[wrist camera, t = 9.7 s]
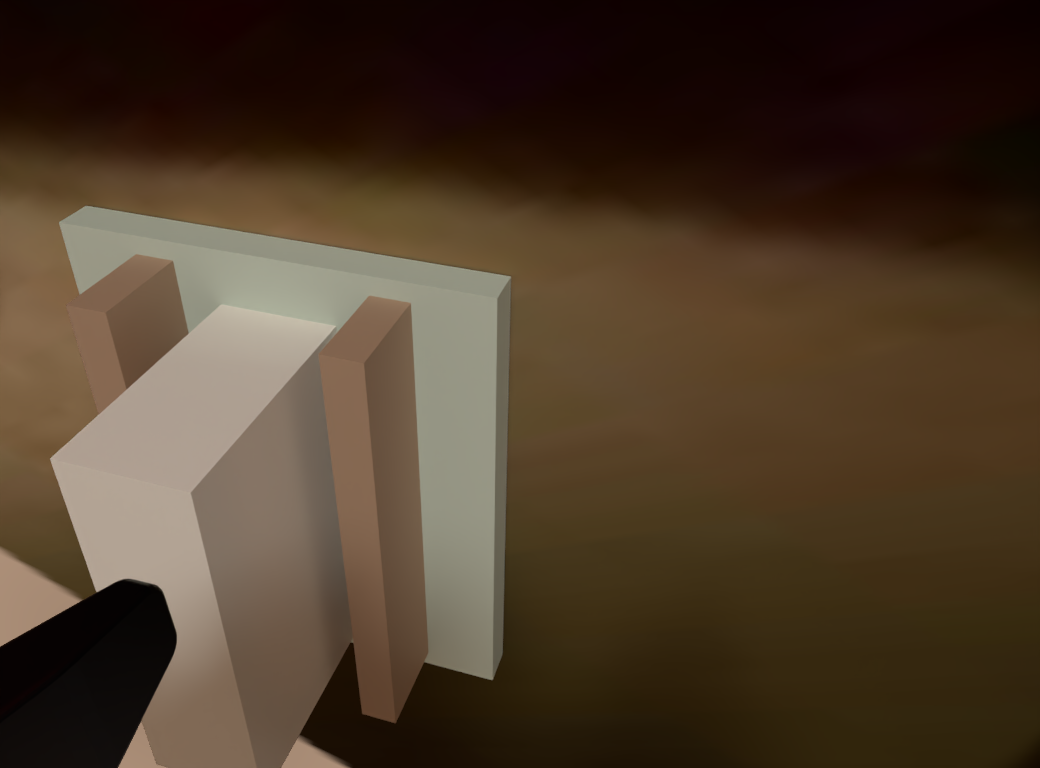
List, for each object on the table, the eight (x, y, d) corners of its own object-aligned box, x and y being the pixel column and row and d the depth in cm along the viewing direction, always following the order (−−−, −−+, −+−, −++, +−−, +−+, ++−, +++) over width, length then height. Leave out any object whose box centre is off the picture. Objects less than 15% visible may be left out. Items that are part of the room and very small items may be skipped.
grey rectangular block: (336, 326, 21) (190, 492, 17) (365, 614, 27) (264, 798, 23) (220, 304, 22) (49, 458, 17) (274, 590, 28) (156, 763, 23)
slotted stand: (510, 276, 21) (458, 360, 18) (502, 653, 28) (464, 753, 25) (86, 205, 23) (-18, 269, 20) (183, 571, 30) (117, 654, 28)
